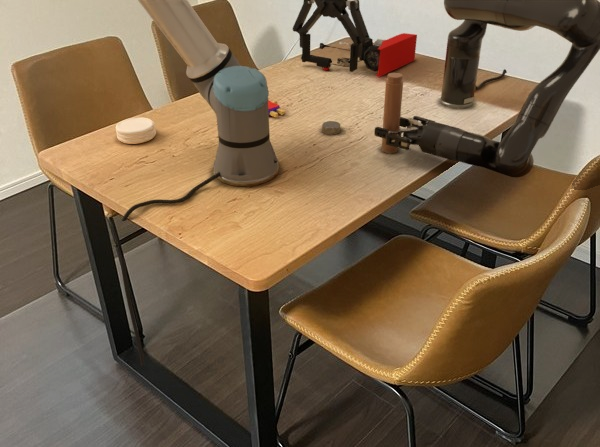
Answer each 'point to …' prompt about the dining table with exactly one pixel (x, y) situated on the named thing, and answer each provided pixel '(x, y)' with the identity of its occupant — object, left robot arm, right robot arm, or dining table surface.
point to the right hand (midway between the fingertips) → (384, 125)
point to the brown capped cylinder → (392, 107)
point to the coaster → (135, 130)
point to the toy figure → (274, 109)
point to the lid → (331, 127)
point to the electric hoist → (377, 54)
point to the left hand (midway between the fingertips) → (329, 65)
